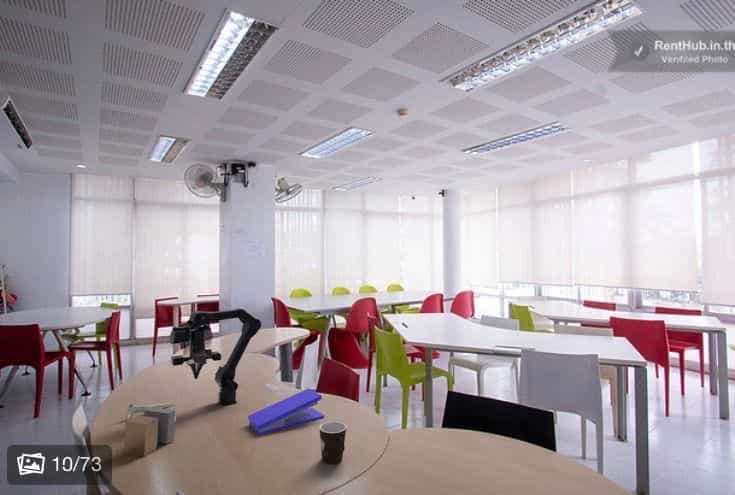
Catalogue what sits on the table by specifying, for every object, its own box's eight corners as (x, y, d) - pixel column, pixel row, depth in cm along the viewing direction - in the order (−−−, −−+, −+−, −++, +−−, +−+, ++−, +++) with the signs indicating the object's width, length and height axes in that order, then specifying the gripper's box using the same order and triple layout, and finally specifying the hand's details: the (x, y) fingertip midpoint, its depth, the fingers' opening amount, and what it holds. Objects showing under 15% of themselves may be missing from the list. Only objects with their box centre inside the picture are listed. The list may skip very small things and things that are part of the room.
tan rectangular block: (163, 431, 137) (164, 403, 137) (182, 434, 135) (183, 406, 135) (123, 453, 121) (125, 421, 121) (144, 456, 119) (145, 424, 119)
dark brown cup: (319, 452, 123) (319, 421, 124) (345, 452, 124) (346, 421, 125) (317, 472, 112) (318, 437, 112) (346, 471, 112) (347, 437, 113)
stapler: (325, 418, 152) (325, 394, 153) (258, 437, 135) (259, 409, 135) (310, 410, 161) (311, 386, 162) (246, 426, 144) (247, 400, 144)
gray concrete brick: (149, 436, 132) (151, 407, 133) (173, 439, 130) (175, 410, 130) (142, 439, 129) (144, 410, 130) (167, 443, 127) (168, 413, 127)
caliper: (127, 422, 145) (128, 405, 146) (125, 421, 146) (126, 404, 146) (175, 405, 163) (176, 390, 164) (174, 405, 164) (174, 390, 164)
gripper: (176, 347, 147) (174, 387, 146) (225, 342, 158) (223, 380, 157) (171, 342, 156) (170, 380, 155) (218, 338, 167) (217, 373, 166)
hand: (195, 378), depth 158 cm, fingers closed
